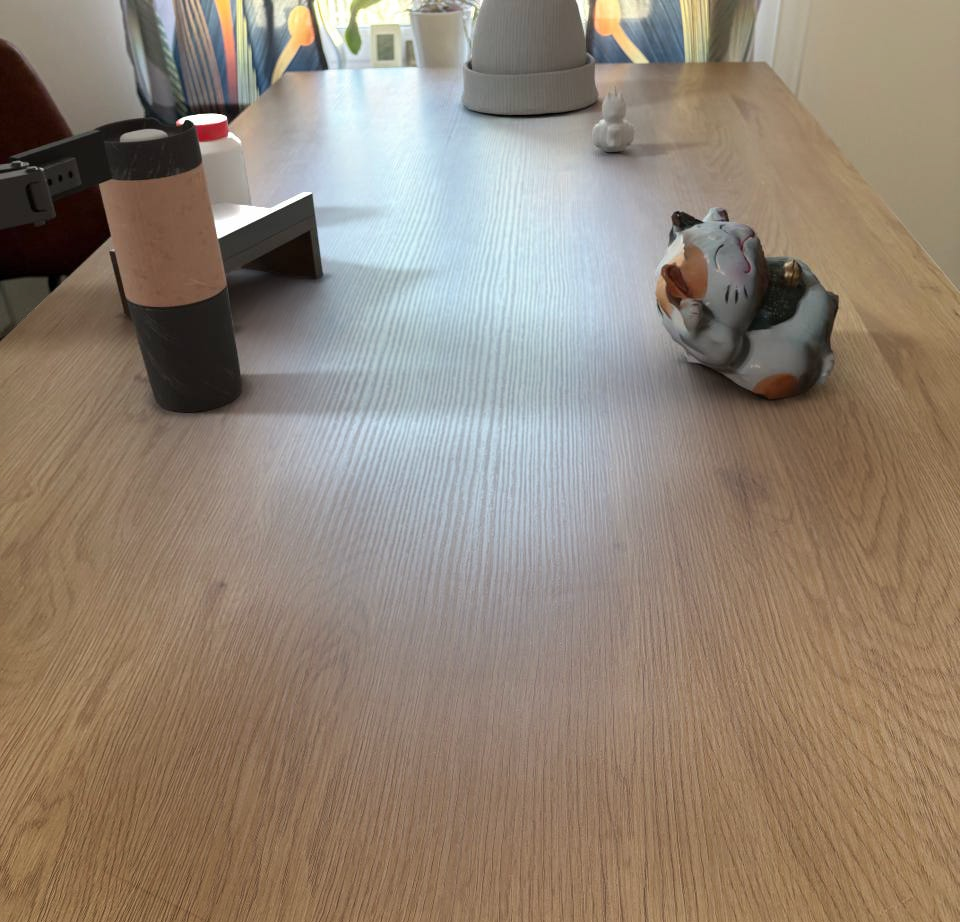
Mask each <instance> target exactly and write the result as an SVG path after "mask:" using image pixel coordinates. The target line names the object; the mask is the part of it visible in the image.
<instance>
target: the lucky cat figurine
mask: <svg viewBox="0 0 960 922" xmlns="http://www.w3.org/2000/svg"><path fill="white" fill-rule="evenodd" d="M670 218H671V222H672V224H671V229H670V231H669V234H668V243H667V247H666V250H665V253H664V256H663V257H662V258H661V260H660V262H659V264H658V266H657V268H656V269H655V272H654V273H653V277H654V281H655V291H654V294H655V297H656V299H655V300H656V305H655V307H656V313H657V314H658V317H659V320H660V323H661V324H662V326H663V327H664V328H665V330H666V331H667V332H668V334H669V336H670V337H671V339H672V340H673V342H675V343H676V344H678V345H679V346H680V347H682V355H683V357H684V358H685V360H687V362H689V363H694V364H695V363H696V364H701V365H703V366H705V367H708V368H710V369H711V370H714V371H716V372H718V373H719V374H722V375H723V376H725V377H727V378H728V379H729V380H731V381H732V382H734V383H735V384H737V385H738V386H740V387H741V388H743V389H745V390H747V391H750V392H752V393H754V394H755V395H756V396H759V397H762V398H763V399H767V400H770V401H771V400H775V399H784V398H788V397H794V396H795V397H796V396H800V395H803V394H806V393H807V392H809V391H810V390H811V389H813V388H814V387H822V386H823V385H824V384H825V383H826V381H828V380H829V379H830V376H831V373H832V371H833V369H834V367H835V363H836V360H835V359H836V356H835V352H834V350H833V349H832V347H831V346H832V345H831V337H832V334H833V333H832V332H833V331H834V324H835V322H836V317H837V314H838V311H839V309H840V306H839V304H840V298H839V295H838V294H835V293H834V292H833V291H829V290H826V288H825V287H824V286H823V285H822V284H821V281H820V280H819V278H818V277H817V276H816V275H815V273H814V272H813V271H812V269H811V268H810V267H809V266H808V265H807V264H806V263H805V262H803V261H802V260H800V259H798V258H795V257H791V256H765V251H764V250H763V245H762V243H761V242H762V241H761V239H760V238H759V236H758V233H757V231H756V230H755V229H754V228H753V227H751V226H749V225H747V224H745V223H741V222H737V221H730V219H729V214H728V212H727V209H725V208H724V207H722V206H714V207H711V208H710V209H709V210H708V212H707V214H706V216H704V217H703V219H702V220H701V219H698V218H695V216H693V215H692V214H691V215H690V214H689V213H687V212H685V211H680V210H676V211H673V213H672V215H671V216H670Z"/></svg>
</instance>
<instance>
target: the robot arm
mask: <svg viewBox="0 0 960 922" xmlns="http://www.w3.org/2000/svg"><path fill="white" fill-rule="evenodd" d="M8 160H9V163H2V164H0V231H1V230H5V229H10V228H15V227H19V226H23V225H29V224H33V227H34V228H38V227H40V226H43V225H45V224H46V222H47V221H50V220H53V219H55V218H56V216H57V214H56V211H55V207H54V202H55V201H58V200H60V199H64V198H67V197H69V196H71V195H74V194H77V193H79V192H82V191H85V190H87V189H91V188H93V187H95V186H97V185H98V186H99V184H100V183H103V182H106V181H108V180H111V179H113V178H112V174H111V170H110V165H109V161H108V157H107V153H106V149H105V144H104V140H103V136H102V132H101V131H97V130H93V129H91V130H87V131H85V132H82V133H78V134H76V135H72V136H69V137H66V138H63V139H60V140H57V141H54V142H53V141H52V142H50V143H47V144H45V145H41V146H38V147H35V148H31V149H29V150H26V151H23V152H19V153H16V154H14V155H11V156H8Z"/></svg>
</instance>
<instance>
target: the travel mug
mask: <svg viewBox="0 0 960 922" xmlns="http://www.w3.org/2000/svg"><path fill="white" fill-rule="evenodd" d="M92 130H97V131H101V132H102V136H103V140H104V144H105V149H106V153H107V157H108V161H109V165H110V170H111V174H112V178H113V179H111V180H108V181H106V182H103V183H100V184H98V186H99V191H100V195H101V198H102V203H103V208H104V211H105V216H106V220H107V224H108V228H109V232H110V233H109V234H110V237H111V241H112V245H113V249H114V250H115V254H116V258H117V262H118V267H119V271H120V275H121V279H122V283H123V288H124V292H125V296H126V300H127V303H128V307H129V310H130V314H131V315H130V317H131V321H132V324H133V327H134V331H135V335H136V338H137V342H138V345H139V350H140V353H141V356H142V359H143V363H144V367H145V371H146V374H147V377H148V381H149V384H150V388H151V391H152V394H153V397H154V401H155V403H156V404H157V405H158V406H159V407H161V408H163V409H165V410H168V411H172V412H179V413H197V412H204V411H208V410H213V409H216V408H219V407H222V406H225V405H226V404H229V403H231V402H232V401H233V400H235V399H237V398H238V397H239V396H240V394H241V393H242V390H243V381H242V373H241V366H240V359H239V353H238V346H237V340H236V334H235V328H234V327H235V326H234V320H233V314H232V309H231V302H230V295H229V289H228V288H229V287H228V284H227V278H226V275H225V272H224V267H223V261H222V256H221V251H220V246H219V241H218V236H217V231H216V226H215V221H214V216H213V211H212V206H211V201H210V196H209V191H208V186H207V181H206V175H205V170H204V165H203V161H202V155H201V150H200V145H199V140H198V135H197V130H196V126H195V124H194V123H193V122H192V121H190V120H187V119H186V120H184V122H183V124H182V125H179V126H177V125H169V124H165V123H163V122H162V121H161V120H159V119H158V118H156V117H136V118H130V119H124V120H118V121H113V122H109V123H106V124H102V125H100V126H98V127H95V128H94V129H92Z"/></svg>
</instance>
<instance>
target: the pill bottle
mask: <svg viewBox="0 0 960 922" xmlns="http://www.w3.org/2000/svg"><path fill="white" fill-rule="evenodd" d="M186 119H187V120H190V121H192V122H193V123H194V124H195V126H196V130H197V135H198V140H199V145H200V150H201V155H202V161H203V165H204V170H205V175H206V181H207V186H208V191H209V196H210V201H211V205H213V204H215V203H217V202H222V203H230V204H237V205H245V206H253V204H252V198H251V192H250V185H249V179H248V174H247V168H246V160H245V156H244V150H243V143H242V140H240V139H239V138H238V137H237V136H235V134H234V133H232V132H231V131H230V128H229V122H228V118H227V116H226V115H223V114H218V113H201V114H195V115H188V116H184V117H182V118H179V119H177V121H176V122H175V124H176V125H175V126H179V125H182V124H183V122H184V120H186Z"/></svg>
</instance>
